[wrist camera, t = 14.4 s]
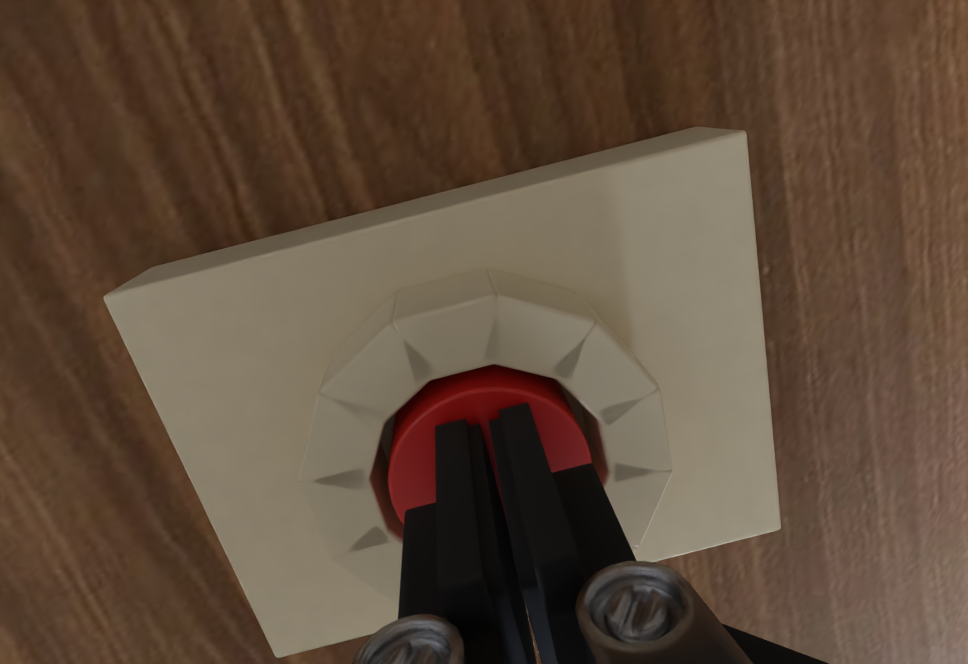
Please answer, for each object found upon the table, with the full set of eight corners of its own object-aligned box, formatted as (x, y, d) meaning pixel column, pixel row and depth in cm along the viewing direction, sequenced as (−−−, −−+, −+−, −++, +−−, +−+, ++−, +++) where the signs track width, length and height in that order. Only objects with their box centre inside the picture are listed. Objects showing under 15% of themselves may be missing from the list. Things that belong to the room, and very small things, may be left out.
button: (420, 526, 13) (420, 586, 12) (370, 376, 12) (360, 419, 10) (586, 484, 13) (608, 537, 12) (552, 328, 12) (572, 364, 10)
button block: (294, 591, 17) (255, 734, 13) (150, 266, 13) (42, 330, 10) (738, 477, 16) (830, 586, 13) (698, 125, 13) (804, 133, 10)
